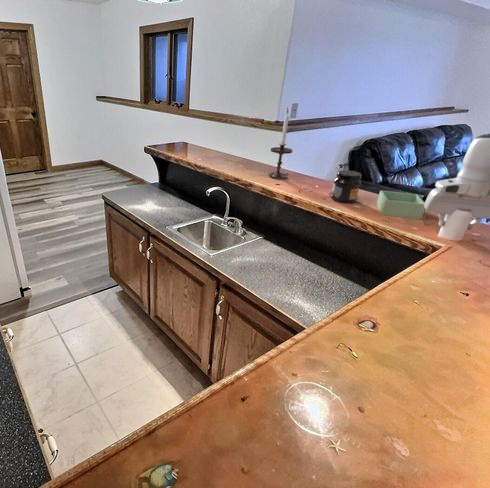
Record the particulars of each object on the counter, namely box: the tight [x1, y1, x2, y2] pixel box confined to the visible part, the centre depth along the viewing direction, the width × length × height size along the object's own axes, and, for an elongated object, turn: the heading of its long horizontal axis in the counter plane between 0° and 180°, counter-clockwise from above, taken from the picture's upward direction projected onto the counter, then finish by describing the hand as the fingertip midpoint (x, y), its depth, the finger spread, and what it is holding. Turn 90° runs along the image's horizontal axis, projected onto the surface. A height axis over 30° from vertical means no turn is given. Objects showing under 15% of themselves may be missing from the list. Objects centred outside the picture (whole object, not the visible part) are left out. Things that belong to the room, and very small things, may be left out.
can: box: [437, 209, 473, 242], centre depth 115 cm, size 6×6×12 cm
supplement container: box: [330, 169, 362, 204], centre depth 152 cm, size 10×10×12 cm
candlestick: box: [268, 106, 293, 179], centre depth 179 cm, size 11×11×35 cm
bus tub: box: [375, 190, 426, 220], centre depth 141 cm, size 14×14×6 cm
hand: (454, 227), depth 115 cm, fingers closed on can, 6 cm apart
